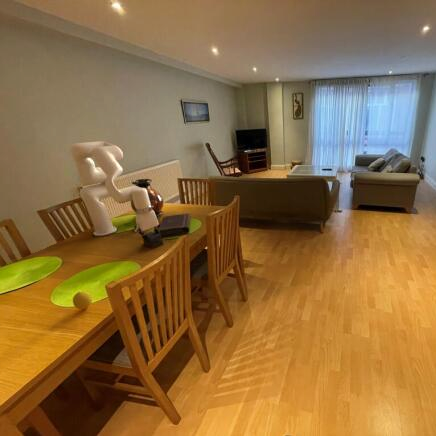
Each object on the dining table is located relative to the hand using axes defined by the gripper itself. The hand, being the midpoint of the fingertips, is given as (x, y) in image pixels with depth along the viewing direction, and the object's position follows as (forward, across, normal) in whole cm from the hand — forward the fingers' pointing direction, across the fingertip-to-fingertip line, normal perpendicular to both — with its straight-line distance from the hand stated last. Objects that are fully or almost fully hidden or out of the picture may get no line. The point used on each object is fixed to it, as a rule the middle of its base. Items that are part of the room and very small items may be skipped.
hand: (152, 238), depth 142 cm
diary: (+4, -21, -10) cm, 24 cm away
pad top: (+4, -10, -28) cm, 30 cm away
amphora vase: (+4, -25, -47) cm, 53 cm away
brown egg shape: (+4, +44, +29) cm, 53 cm away
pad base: (+4, 0, 0) cm, 4 cm away
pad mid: (+1, 0, 0) cm, 1 cm away
